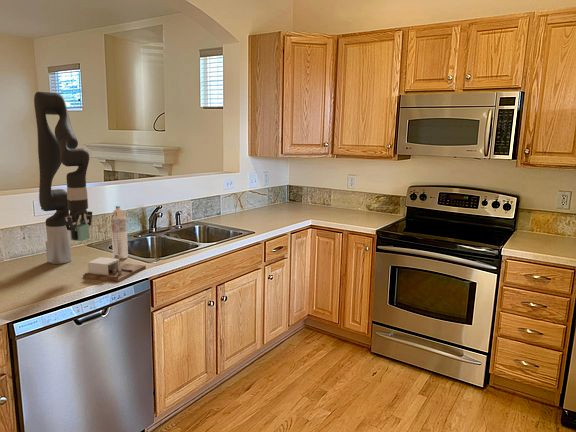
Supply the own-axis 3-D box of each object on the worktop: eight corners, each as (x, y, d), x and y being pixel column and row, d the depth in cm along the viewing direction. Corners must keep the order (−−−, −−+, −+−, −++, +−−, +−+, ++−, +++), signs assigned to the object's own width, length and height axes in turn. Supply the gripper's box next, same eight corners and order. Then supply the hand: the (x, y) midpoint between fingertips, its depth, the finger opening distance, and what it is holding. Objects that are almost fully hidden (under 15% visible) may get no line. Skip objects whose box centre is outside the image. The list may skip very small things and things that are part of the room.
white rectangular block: (88, 273, 181) (87, 262, 180) (101, 268, 189) (100, 257, 188) (107, 276, 179) (106, 264, 178) (119, 270, 186) (119, 259, 186)
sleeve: (70, 239, 181) (69, 225, 179) (79, 237, 185) (78, 223, 184) (80, 241, 179) (80, 226, 178) (89, 238, 184) (88, 224, 183)
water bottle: (113, 256, 212) (110, 205, 207) (128, 255, 214) (125, 204, 209) (112, 260, 206) (109, 207, 201) (128, 258, 208) (125, 207, 203)
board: (83, 277, 181) (82, 263, 180) (112, 264, 199) (112, 251, 198) (118, 282, 177) (117, 267, 176) (145, 268, 195) (145, 254, 194)
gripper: (82, 194, 186) (84, 233, 190) (56, 199, 173) (59, 241, 176) (97, 196, 185) (99, 235, 188) (72, 201, 171) (75, 243, 174)
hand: (80, 238), depth 182 cm, fingers closed on sleeve, 5 cm apart
